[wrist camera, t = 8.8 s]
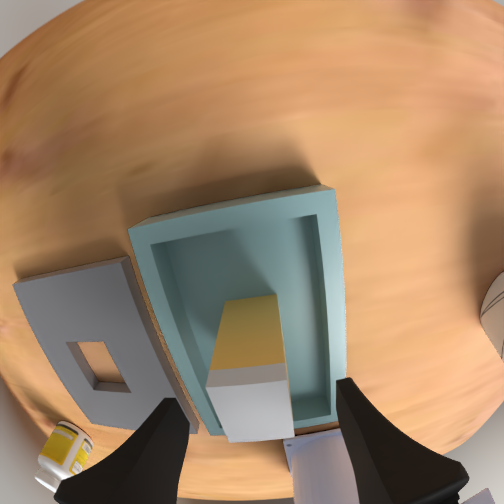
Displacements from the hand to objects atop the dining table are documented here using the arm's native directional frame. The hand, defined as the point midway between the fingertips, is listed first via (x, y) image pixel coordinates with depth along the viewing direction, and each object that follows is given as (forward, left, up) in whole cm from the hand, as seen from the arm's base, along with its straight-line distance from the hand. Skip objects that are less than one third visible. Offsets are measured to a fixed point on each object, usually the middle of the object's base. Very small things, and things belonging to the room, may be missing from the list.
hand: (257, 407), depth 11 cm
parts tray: (0, 0, -7) cm, 7 cm away
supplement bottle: (-15, +26, -7) cm, 31 cm away
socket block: (-2, +13, -7) cm, 15 cm away
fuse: (+1, 0, -6) cm, 6 cm away
